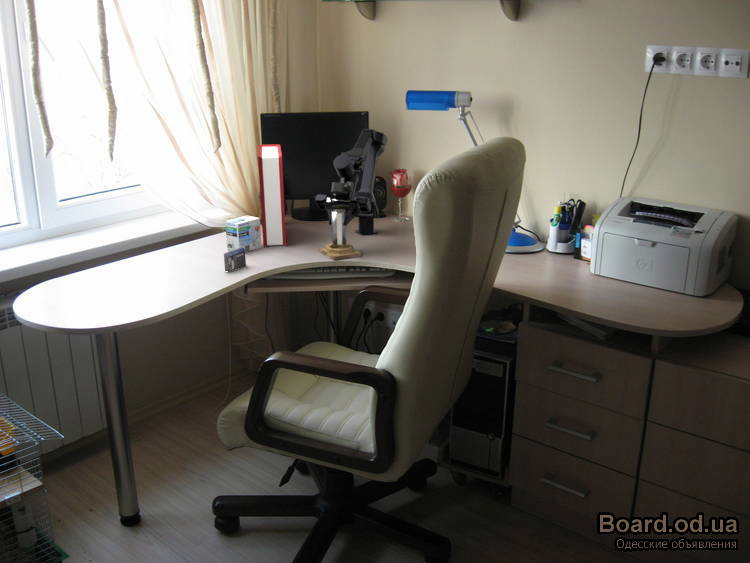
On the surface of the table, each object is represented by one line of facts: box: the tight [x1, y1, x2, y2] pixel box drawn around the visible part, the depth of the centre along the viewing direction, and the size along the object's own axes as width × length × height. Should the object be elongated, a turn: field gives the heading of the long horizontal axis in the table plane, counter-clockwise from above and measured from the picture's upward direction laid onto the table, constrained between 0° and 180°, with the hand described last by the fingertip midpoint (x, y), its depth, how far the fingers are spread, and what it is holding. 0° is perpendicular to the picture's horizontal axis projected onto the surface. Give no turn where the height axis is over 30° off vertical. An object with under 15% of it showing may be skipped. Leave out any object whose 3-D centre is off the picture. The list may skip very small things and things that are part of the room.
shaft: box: [330, 209, 348, 245], centre depth 248 cm, size 5×5×11 cm
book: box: [257, 143, 287, 248], centre depth 267 cm, size 27×8×32 cm, turn 8°
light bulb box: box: [224, 215, 262, 253], centre depth 255 cm, size 11×7×11 cm, turn 143°
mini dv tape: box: [223, 248, 247, 273], centre depth 235 cm, size 8×2×6 cm, turn 149°
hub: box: [318, 242, 362, 261], centre depth 250 cm, size 12×10×3 cm
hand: (337, 224), depth 246 cm, fingers closed on shaft, 5 cm apart
